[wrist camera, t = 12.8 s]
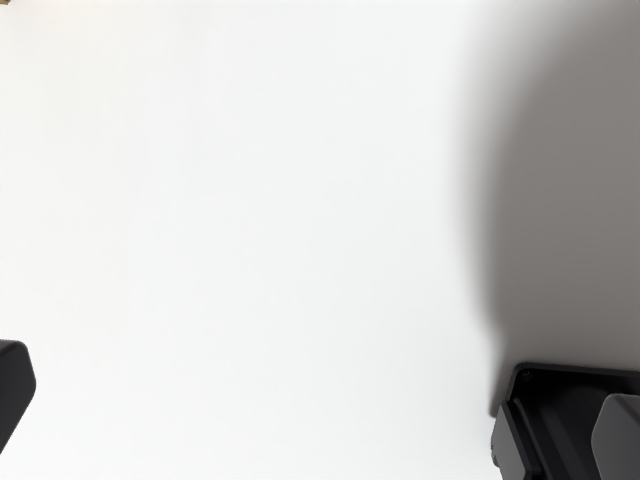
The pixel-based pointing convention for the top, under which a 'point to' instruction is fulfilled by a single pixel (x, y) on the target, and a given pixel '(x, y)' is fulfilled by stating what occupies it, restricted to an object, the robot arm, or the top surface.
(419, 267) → the top surface
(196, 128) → the top surface
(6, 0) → the box
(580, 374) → the robot arm
